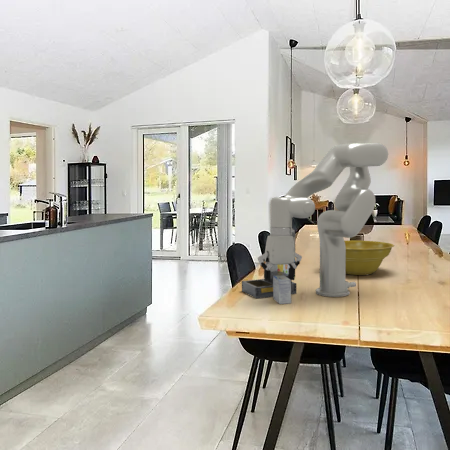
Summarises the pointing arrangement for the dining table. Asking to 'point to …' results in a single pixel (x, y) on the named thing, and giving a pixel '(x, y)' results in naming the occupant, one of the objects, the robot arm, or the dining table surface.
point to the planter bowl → (365, 256)
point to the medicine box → (282, 289)
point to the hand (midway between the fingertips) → (279, 280)
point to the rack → (264, 286)
